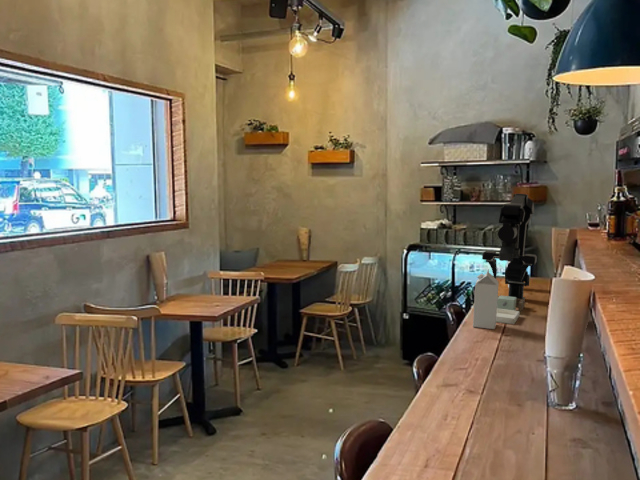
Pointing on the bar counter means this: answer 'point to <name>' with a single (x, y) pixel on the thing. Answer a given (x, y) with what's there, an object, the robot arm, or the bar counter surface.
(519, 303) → the dock
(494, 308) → the milk carton
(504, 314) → the tray
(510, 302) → the block with peg handle
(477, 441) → the bar counter surface
